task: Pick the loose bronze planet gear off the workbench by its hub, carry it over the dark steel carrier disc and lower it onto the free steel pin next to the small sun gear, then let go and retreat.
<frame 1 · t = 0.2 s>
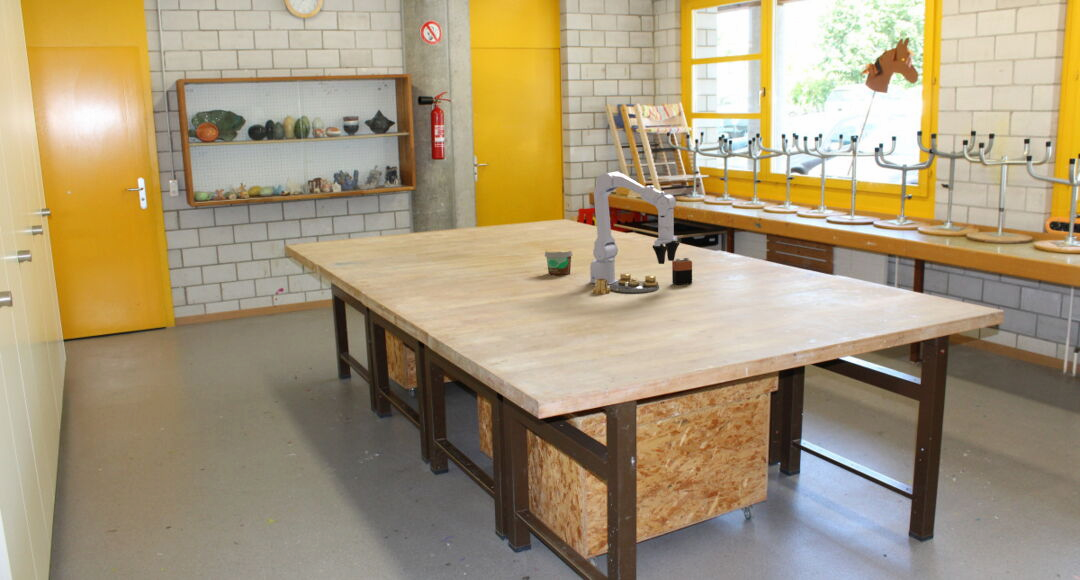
hand: (666, 262, 341), 10 cm above the table, fingers open, 7 cm apart
planet gear: (601, 292, 339), on the table
battery: (682, 284, 350), on the table
food container: (557, 275, 378), on the table
carrier: (634, 288, 344), on the table
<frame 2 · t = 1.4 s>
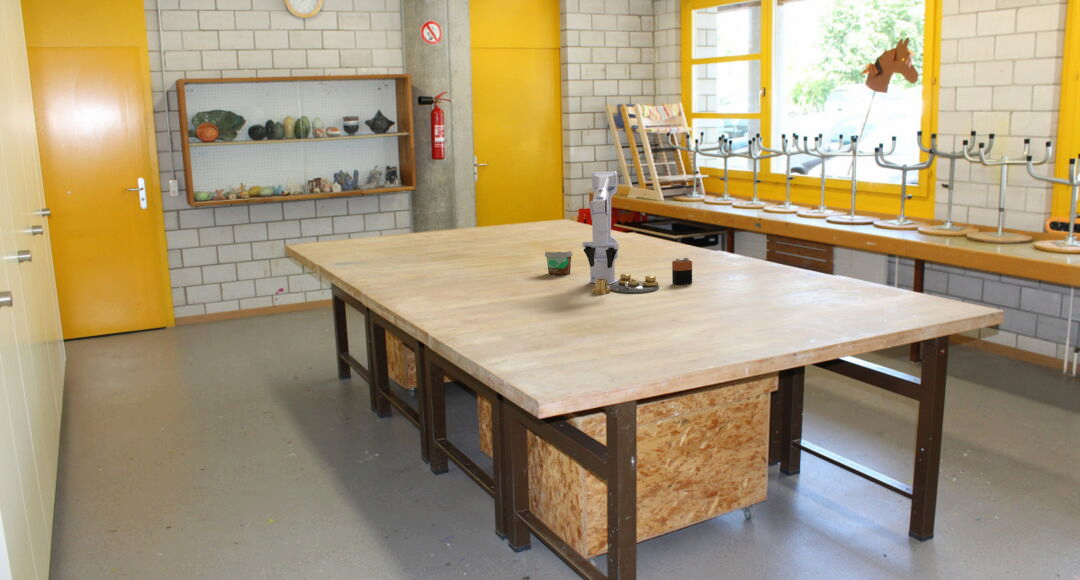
hand: (600, 266, 337), 10 cm above the table, fingers open, 7 cm apart
nothing on the table moved.
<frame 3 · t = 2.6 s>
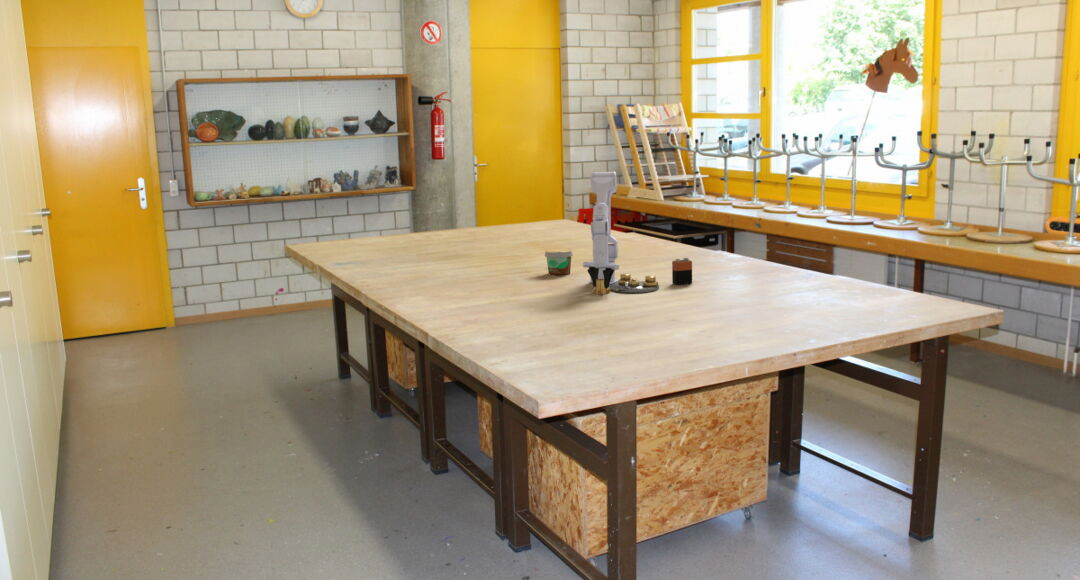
hand: (601, 287, 339), 2 cm above the table, fingers closed on planet gear, 4 cm apart
planet gear: (601, 292, 339), on the table, touching gripper
everything else where it was.
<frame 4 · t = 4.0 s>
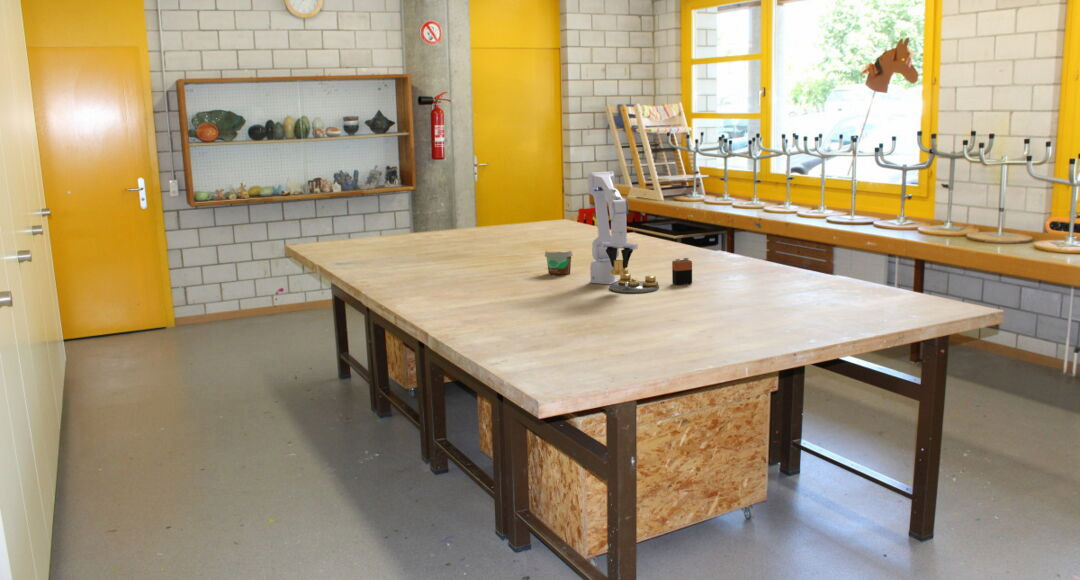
hand: (619, 267, 337), 9 cm above the table, fingers closed on planet gear, 4 cm apart
planet gear: (619, 273, 338), point 7 cm above the table, touching gripper
everything else where it was.
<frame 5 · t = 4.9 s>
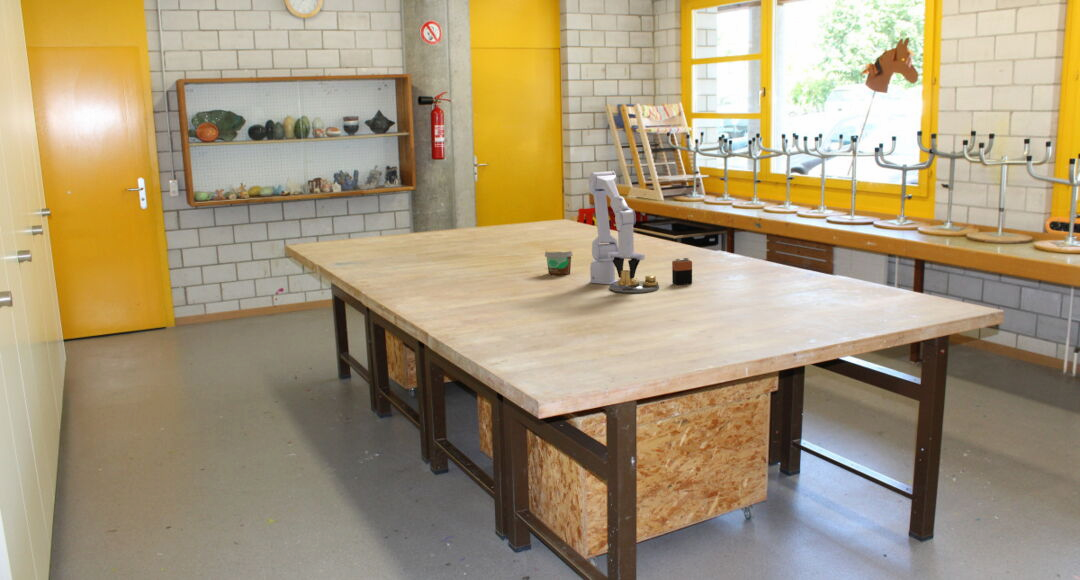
hand: (626, 277, 338), 5 cm above the table, fingers closed on planet gear, 4 cm apart
planet gear: (626, 283, 338), point 3 cm above the table, touching gripper
everything else where it was.
when the fingers open (5 cm above the table, at t = 5.4 s): planet gear drops 1 cm, resting on carrier.
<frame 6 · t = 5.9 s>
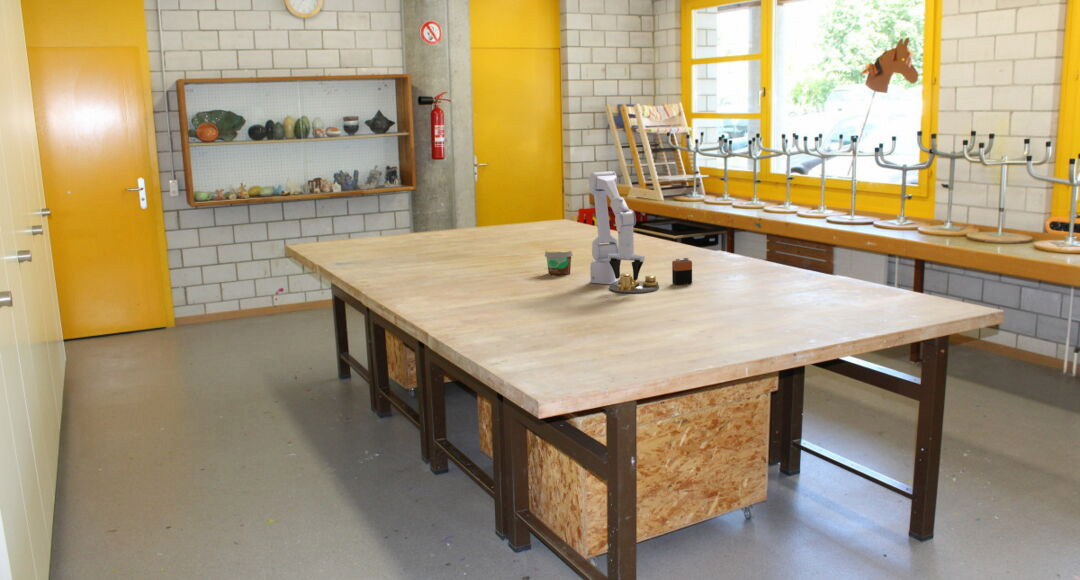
hand: (626, 279, 338), 5 cm above the table, fingers open, 7 cm apart
planet gear: (626, 289, 339), point 1 cm above the table, touching carrier
everything else where it was.
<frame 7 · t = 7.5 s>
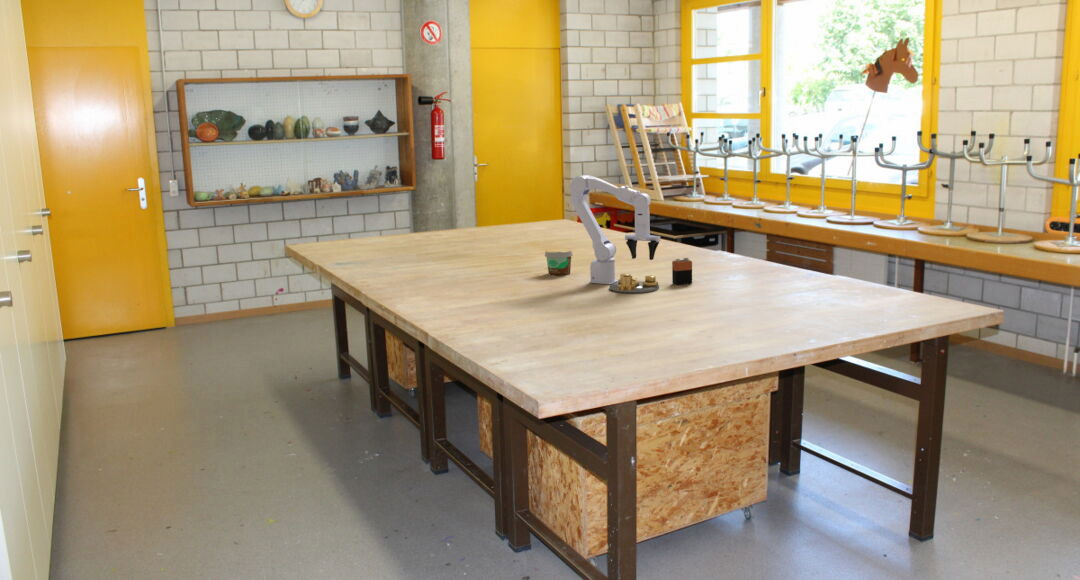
hand: (642, 259, 350), 10 cm above the table, fingers open, 7 cm apart
nothing on the table moved.
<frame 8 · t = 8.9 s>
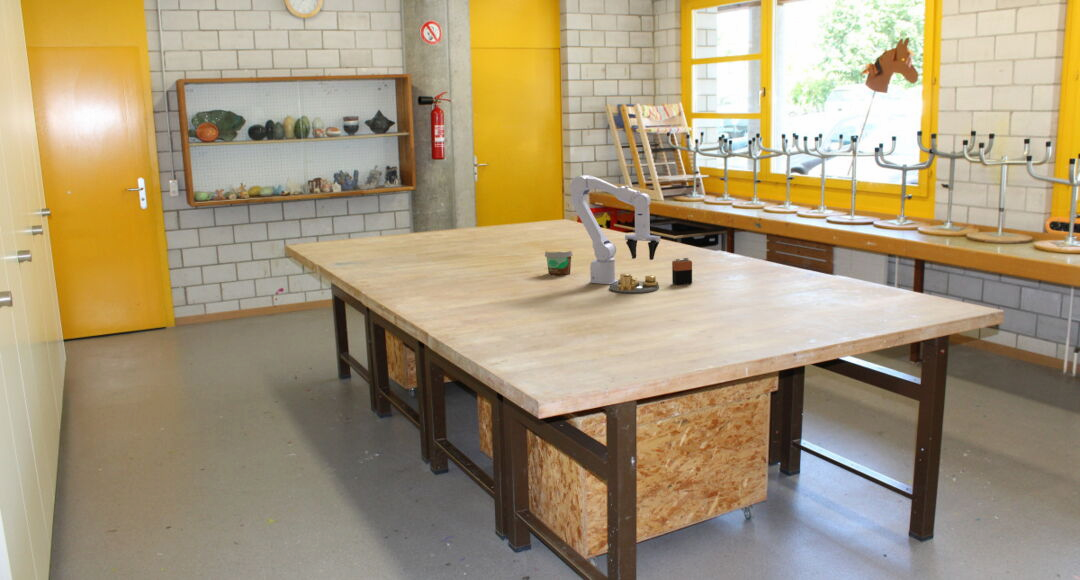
hand: (642, 259, 350), 10 cm above the table, fingers open, 7 cm apart
nothing on the table moved.
at the end: planet gear 0.3 cm from the target spot on the carrier, point 1.0 cm above the carrier's base; planet gear tilted 0°; the gripper is holding nothing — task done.
